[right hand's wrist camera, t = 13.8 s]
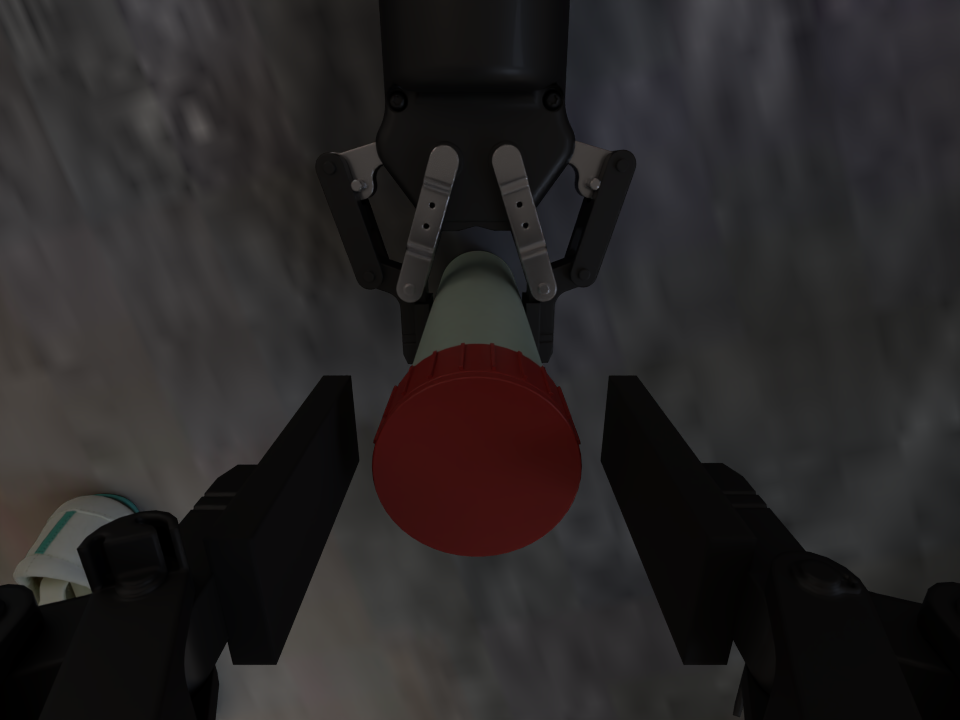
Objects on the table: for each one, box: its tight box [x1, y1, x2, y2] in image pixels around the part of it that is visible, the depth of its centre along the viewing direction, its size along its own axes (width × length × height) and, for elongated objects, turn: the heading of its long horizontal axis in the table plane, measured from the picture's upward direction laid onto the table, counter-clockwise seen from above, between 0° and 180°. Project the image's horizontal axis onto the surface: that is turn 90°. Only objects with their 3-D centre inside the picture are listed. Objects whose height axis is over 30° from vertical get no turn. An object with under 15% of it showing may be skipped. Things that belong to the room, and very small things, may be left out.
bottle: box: [413, 251, 542, 367], centre depth 22 cm, size 4×4×19 cm
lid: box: [372, 343, 582, 556], centre depth 13 cm, size 5×5×2 cm
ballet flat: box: [13, 494, 139, 606], centre depth 36 cm, size 8×24×8 cm, turn 3°
